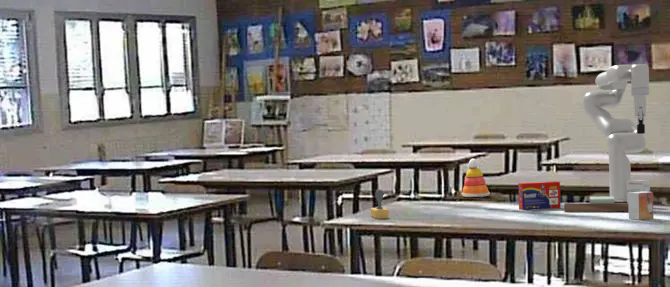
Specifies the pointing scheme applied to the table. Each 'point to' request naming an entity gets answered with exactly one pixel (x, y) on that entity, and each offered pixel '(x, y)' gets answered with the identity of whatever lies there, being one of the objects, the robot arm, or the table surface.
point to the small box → (640, 205)
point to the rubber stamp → (379, 207)
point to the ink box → (637, 186)
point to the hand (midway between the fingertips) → (641, 133)
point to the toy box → (539, 195)
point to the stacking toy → (474, 182)
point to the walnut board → (595, 207)
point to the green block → (602, 199)
